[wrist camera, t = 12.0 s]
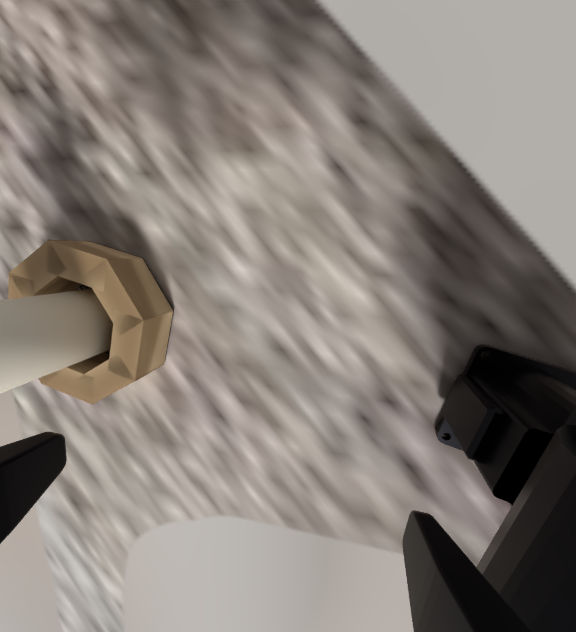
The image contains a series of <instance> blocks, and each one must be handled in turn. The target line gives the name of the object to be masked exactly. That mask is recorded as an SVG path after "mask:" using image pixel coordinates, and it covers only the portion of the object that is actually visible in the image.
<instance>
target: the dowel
mask: <svg viewBox="0 0 576 632" xmlns="http://www.w3.org/2000/svg"><path fill="white" fill-rule="evenodd" d="M112 331H113V322H112V320H111V318H110V317H109V315H108V314H107V312H106V310H105V309H104V307H103V305H102V304H101V302H100V300H99V299H98V297H97V295H96V294H95V292H94V291H93V289H92V288H90V289H83V290H75V291H68V292H61V293H53V294H46V295H38V296H31V297H24V298H16V299H9V300H1V301H0V393H3V392H5V391H8V390H10V389H13V388H15V387H18V386H20V385H23V384H25V383H28V382H30V381H33V380H35V379H38V378H40V377H43V376H45V375H48V374H50V373H53V372H56V371H58V370H61V369H63V368H66V367H68V366H71V365H73V364H76V363H78V362H81V361H83V360H86V359H88V358H91V357H93V356H96V355H98V354H101V353H103V352H106V351H108V350H110V348H111V340H112Z"/></svg>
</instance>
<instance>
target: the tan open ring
mask: <svg viewBox="0 0 576 632" xmlns="http://www.w3.org/2000/svg"><path fill="white" fill-rule="evenodd" d="M82 284H83V285H86V286H89V287H92V289H93V291H94V292H95V294H96V295H97V297H98V299H99V300H100V302H101V304H102V305H103V307H104V309H105V310H106V312H107V314H108V315H109V317H110V318H111V320H112V322H113V331H112V340H111V348H110V355H108V354H106V353H101V354H98V355H96V356H93V357H91V358H88V359H86V360H83V361H81V362H78V363H76V364H73V365H71V366H68V367H66V368H63V369H61V370H58V371H56V372H53V373H50V374H48V375H45V376H43V377H40V378H38V379H39V380H40V382H41V384H44V385H46V386H49V387H51V388H53V389H56V390H58V391H61V392H63V393H66V394H68V395H70V396H73V397H75V398H78V399H80V400H83V401H85V402H87V403H90V404H94V403H96V402H97V401H99V400H101V399H103V398H104V397H106V396H108V395H110V394H112V393H114V392H116V391H117V390H119V389H121V388H123V387H125V386H127V385H129V384H130V383H132V382H134V381H136V380H138V379H140V378H142V377H143V376H145V375H147V374H148V373H150V372H152V371H153V370H155V369H157V368H159V367H160V366H162V365H164V362H165V356H166V350H167V344H168V338H169V332H170V326H171V321H172V315H173V310H172V308H171V307H170V305H169V303H168V302H167V300H166V298H165V296H164V295H163V293H162V291H161V290H160V288H159V286H158V285H157V283H156V281H155V279H154V278H153V276H152V274H151V273H150V271H149V269H148V268H147V266H146V264H145V262H144V261H143V259H142V258H140V257H137V256H134V255H130V254H127V253H124V252H121V251H118V250H115V249H112V248H108V247H105V246H102V245H99V244H96V243H93V242H85V241H62V240H48V241H47V242H46V243H44V244H43V245H42V246H41V247H40V248H38V249H37V250H36V251H35V252H34V253H32V254H31V255H30V256H29V257H28V258H26V259H25V260H24V261H23V262H22V263H20V264H19V265H18V266H17V267H16V268H15V269H13V270H12V271H11V272H10V273H9V299H16V298H24V297H31V296H38V295H46V294H53V293H61V292H68V291H75V290H76V289H77V288H78V287H79V286H81V285H82Z"/></svg>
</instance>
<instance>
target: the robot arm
mask: <svg viewBox="0 0 576 632" xmlns="http://www.w3.org/2000/svg"><path fill="white" fill-rule="evenodd" d="M484 351H488V355H487V356H486V357H481V354H482V352H484ZM442 413H443V417H442V419H441V421H440V423H439V425H438V427H437V429H436V436H437V438H438V440H439V441H440V442H441V443H443V444H446V445H449V446H452V447H454V448H457V449H460V450H463V451H464V453H465V455H466V456H467V458H468V459H470V460H473V461H474V462H475V464H476V466H477V467H478V469H479V471H480V473H481V474H482V476H483V478H484V479H485V481H486V483H487V485H488V486H489V488H490V490H491V491H492V493H493V495H494V496H495V497H497V498H499V499H502V500H504V501H507V502H509V504H510V506H511V509H510V511H509V512H508V514H507V516H506V518H505V519H504V521H503V523H502V524H501V526H500V528H499V530H498V531H497V533H496V535H495V536H494V538H493V540H492V542H491V543H490V545H489V547H488V548H487V550H486V552H485V553H484V555H483V557H482V559H481V560H480V562H479V564H478V565H477V567H475V565H474V564H473V563H472V562H471V561H470V560H469V558H468V557H467V556H466V555H465V554H464V553H463V551H462V550H461V549H460V548H459V547H458V546H457V544H456V543H455V542H454V541H453V540H452V539H451V537H450V536H449V535H448V534H447V533H446V531H445V530H444V529H443V528H442V527H441V526H440V524H439V523H438V522H437V521H436V520H435V519H434V517H433V516H431V515H430V514H428V513H424V512H420V511H412V512H411V513H410V515H409V518H408V522H407V525H406V529H405V532H404V536H403V553H404V561H405V568H406V576H407V584H408V591H409V599H410V607H411V614H412V622H413V628H414V632H576V372H574V371H571V370H567V369H564V368H561V367H558V366H554V365H551V364H548V363H544V362H541V361H538V360H535V359H531V358H528V357H525V356H522V355H518V354H515V353H512V352H509V351H505V350H502V349H499V348H496V347H492V346H489V345H484V344H483V345H479V346H477V347H476V348H475V349H474V351H473V353H472V355H471V358H470V360H469V362H468V364H467V366H466V368H465V370H464V372H463V374H461V375H459V376H458V377H457V379H456V381H455V383H454V385H453V387H452V389H451V391H450V393H449V396H448V398H447V400H446V402H445V404H444V406H443V408H442ZM444 433H449V435H448V436H442V435H443V434H444ZM66 460H67V458H66V445H65V438H64V436H63V435H62V434H58V433H53V432H44V433H41V434H38V435H35V436H32V437H29V438H26V439H23V440H20V441H16V442H14V443H10V444H7V445H4V446H1V447H0V544H1V542H2V541H3V540H4V539H5V538H6V537H7V536H8V535H9V534H10V533H11V531H12V530H13V529H14V528H15V527H16V526H17V525H18V523H19V522H20V521H21V520H22V519H23V517H24V516H25V515H26V514H27V513H28V511H29V510H30V509H31V508H32V507H33V505H34V504H35V503H36V502H37V501H38V499H39V498H40V497H41V496H42V494H43V493H44V492H45V491H46V490H47V488H48V487H49V486H50V485H51V483H52V482H53V481H54V480H55V479H56V477H57V476H58V475H59V474H60V473H61V471H62V470H63V468H64V467H65V464H66Z"/></svg>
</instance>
